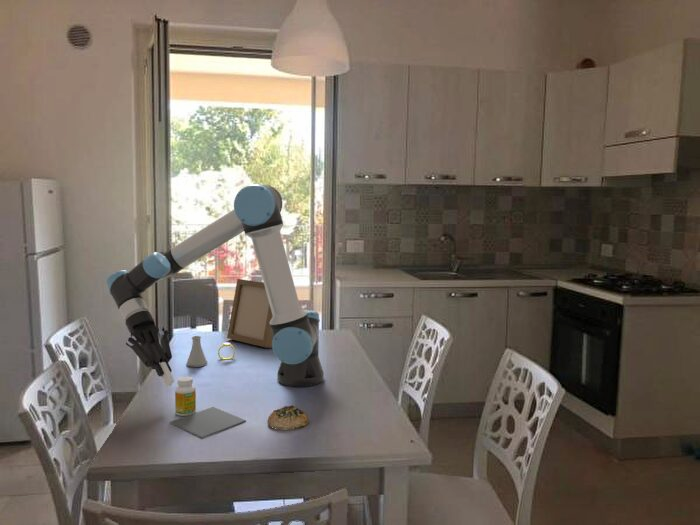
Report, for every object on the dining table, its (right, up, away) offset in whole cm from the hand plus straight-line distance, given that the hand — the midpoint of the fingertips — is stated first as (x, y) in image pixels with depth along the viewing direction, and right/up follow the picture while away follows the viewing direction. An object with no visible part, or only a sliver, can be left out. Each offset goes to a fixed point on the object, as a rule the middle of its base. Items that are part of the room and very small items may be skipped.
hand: (170, 383), depth 160 cm
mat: (+13, -8, -10) cm, 18 cm away
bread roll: (+34, -9, -9) cm, 36 cm away
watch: (+6, -1, +47) cm, 47 cm away
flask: (-3, -2, +40) cm, 40 cm away
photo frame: (+13, +2, +71) cm, 73 cm away
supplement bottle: (+5, -7, -4) cm, 10 cm away
